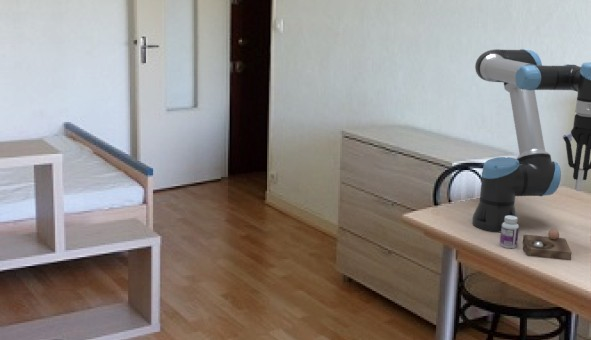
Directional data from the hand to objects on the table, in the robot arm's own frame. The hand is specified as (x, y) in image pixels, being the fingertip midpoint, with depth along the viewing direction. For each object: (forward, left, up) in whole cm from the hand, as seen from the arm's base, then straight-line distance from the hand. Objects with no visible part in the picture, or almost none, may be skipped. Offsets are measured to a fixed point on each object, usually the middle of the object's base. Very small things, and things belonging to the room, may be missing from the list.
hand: (578, 189), depth 234 cm
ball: (-10, -3, -19) cm, 22 cm away
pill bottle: (-19, 0, -21) cm, 28 cm away
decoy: (-5, +3, -16) cm, 17 cm away
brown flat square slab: (-7, -2, -20) cm, 22 cm away
